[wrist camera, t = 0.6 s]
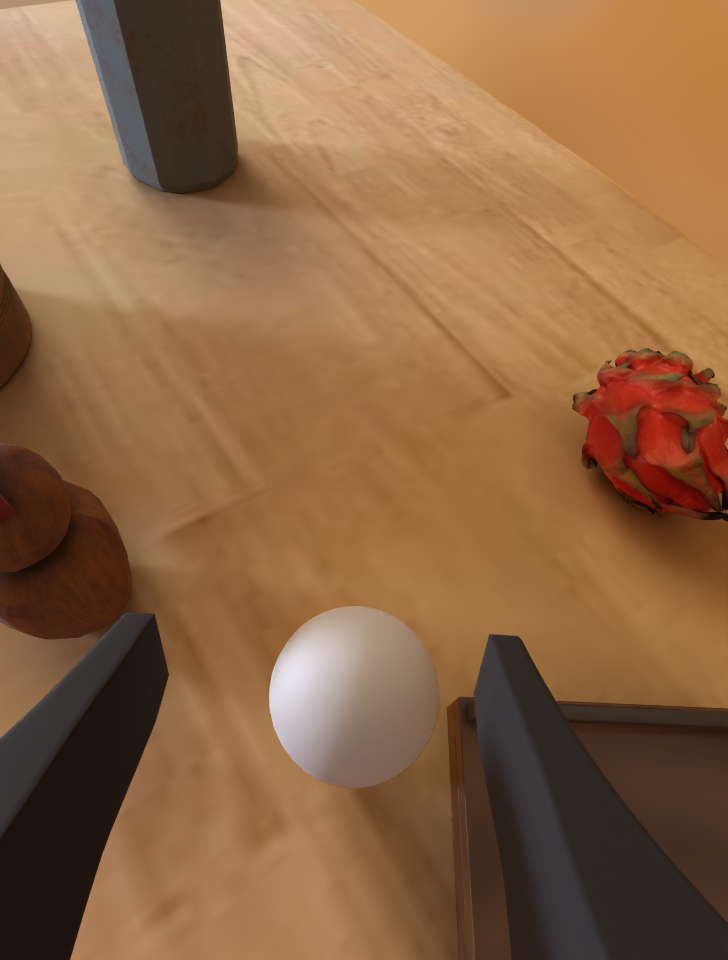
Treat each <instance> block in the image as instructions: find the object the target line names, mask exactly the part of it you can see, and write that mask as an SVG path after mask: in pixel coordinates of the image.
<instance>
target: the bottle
mask: <svg viewBox="0 0 728 960" xmlns="http://www.w3.org/2000/svg"><path fill="white" fill-rule="evenodd" d="M76 3H77V7H78V10H79V13H80V17H81V20H82V24H83V27H84V30H85V34H86V37H87V40H88V44H89V47H90V51H91V54H92V57H93V61H94V64H95V67H96V71H97V74H98V78H99V81H100V84H101V88H102V91H103V95H104V98H105V101H106V105H107V108H108V111H109V115H110V118H111V122H112V125H113V128H114V132H115V135H116V138H117V142H118V145H119V149H120V152H121V155H122V159H123V162H124V164H125V165H126V167H127V168H128V169H129V171H130V172H131V173H132V174H133V175H134V176H135V177H136V178H137V179H138V180H139V181H141V182H144V183H146V184H148V185H150V186H153V187H155V188H157V189H160V190H162V191H164V192H174V193H185V192H190V191H196V190H202V189H207V188H213V187H215V186H216V185H217V184H219V183H220V182H221V181H223V180H224V179H226V178H227V177H228V176H230V175H231V174H232V173H233V172H234V170H235V168H236V166H237V150H238V144H237V136H236V128H235V119H234V111H233V103H232V94H231V86H230V78H229V69H228V61H227V53H226V45H225V36H224V28H223V20H222V11H221V3H220V0H76Z"/></svg>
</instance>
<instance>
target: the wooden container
mask: <svg viewBox="0 0 728 960" xmlns="http://www.w3.org/2000/svg"><path fill="white" fill-rule="evenodd" d="M30 340H31V323H30V318H29V315H28V313H27V311H26V309H25V307H24V305H23V303H22V301H21V299H20V298H19V296H18V294H17V292H16V290H15V289H14V287H13V285H12V283H11V282H10V280H9V278H8V276H7V275H6V273H5V272H4V271H3V269H2V267H1V264H0V387H1V386H2V385H4V384H5V383H6V382H7V381H8V380H9V379H10V377H11V376H12V375H13V374H14V372H15V371H16V370H17V368H18V367H19V365H20V364H21V362H22V360H23V359H24V357H25V355H26V352H27V350H28V348H29V345H30Z"/></svg>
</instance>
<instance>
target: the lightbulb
mask: <svg viewBox="0 0 728 960" xmlns="http://www.w3.org/2000/svg"><path fill="white" fill-rule="evenodd" d="M269 701H270V712H271V717H272V721H273V726H274V728H275V731H276V733H277V735H278V738H279V740H280V742H281V744H282V746H283V747H284V749H285V750H286V752H287V753H288V755H289V756H290V757H291V759H292V760H293V761H294V762H295V763H296V764H297V765H298V766H299V767H300V768H301V769H302V770H304V771H305V772H306V773H308V774H309V775H311V776H313V777H314V778H316V779H318V780H319V781H322V782H325V783H328V784H330V785H333V786H336V787H345V788H362V787H370V786H374V785H377V784H380V783H383V782H385V781H388V780H390V779H392V778H393V777H395V776H396V775H398V774H400V773H401V772H403V771H404V770H406V769H407V768H408V767H409V766H410V765H411V764H412V763H413V762H414V761H415V760H416V759H417V758H418V757H419V756H420V754H421V753H422V751H423V750H424V748H425V747H426V745H427V744H428V742H429V740H430V737H431V735H432V732H433V730H434V728H435V725H436V720H437V715H438V710H439V684H438V679H437V673H436V669H435V666H434V664H433V661H432V658H431V655H430V654H429V652H428V650H427V649H426V647H425V645H424V644H423V642H422V640H421V639H420V638H419V637H418V636H417V635H416V634H415V632H414V631H413V630H412V629H411V628H410V627H408V626H407V625H406V624H405V623H403V622H402V621H401V620H400V619H398V618H396V617H394V616H392V615H390V614H388V613H387V612H384V611H381V610H378V609H374V608H371V607H362V606H347V607H339V608H335V609H332V610H328V611H325V612H323V613H321V614H319V615H317V616H315V617H313V618H311V619H310V620H309V621H307V622H306V623H305V624H304V625H302V626H301V627H300V628H299V629H298V630H297V631H296V632H295V633H294V634H293V635H292V637H291V638H290V639H289V640H288V641H287V643H286V645H285V646H284V648H283V650H282V651H281V653H280V655H279V656H278V659H277V661H276V664H275V667H274V670H273V672H272V677H271V683H270V689H269Z"/></svg>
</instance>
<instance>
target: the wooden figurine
mask: <svg viewBox="0 0 728 960" xmlns="http://www.w3.org/2000/svg"><path fill="white" fill-rule="evenodd" d="M130 586H131V572H130V567H129V562H128V556H127V552H126V550H125V547H124V544H123V542H122V539H121V536H120V534H119V531H118V528H117V526H116V524H115V523H114V521H113V519H112V518H111V516H110V514H109V513H108V511H107V509H106V508H105V507H104V505H103V504H102V502H101V501H100V499H99V498H98V497H96V496H95V495H94V494H93V493H92V492H91V491H89V490H87V489H84V488H82V487H79V486H77V485H74V484H72V483H69V482H67V481H64V480H62V478H61V476H60V475H59V474H58V472H57V471H56V470H55V469H54V468H53V467H52V466H51V465H50V464H49V463H48V462H47V461H46V460H45V459H43V458H42V457H41V456H40V455H39V454H37V453H35V452H33V451H31V450H28V449H26V448H23V447H20V446H18V445H15V444H13V443H0V622H1V623H3V624H5V625H6V626H8V627H10V628H12V629H15V630H18V631H21V632H23V633H26V634H29V635H32V636H35V637H39V638H43V639H64V638H78V637H81V636H83V635H86V634H88V633H91V632H93V631H95V630H98V629H100V628H102V627H104V626H105V625H106V624H108V623H109V622H111V621H112V620H113V619H115V618H116V617H117V616H118V615H119V613H120V612H121V610H122V608H123V607H124V605H125V604H126V602H127V601H128V599H129V595H130Z"/></svg>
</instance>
